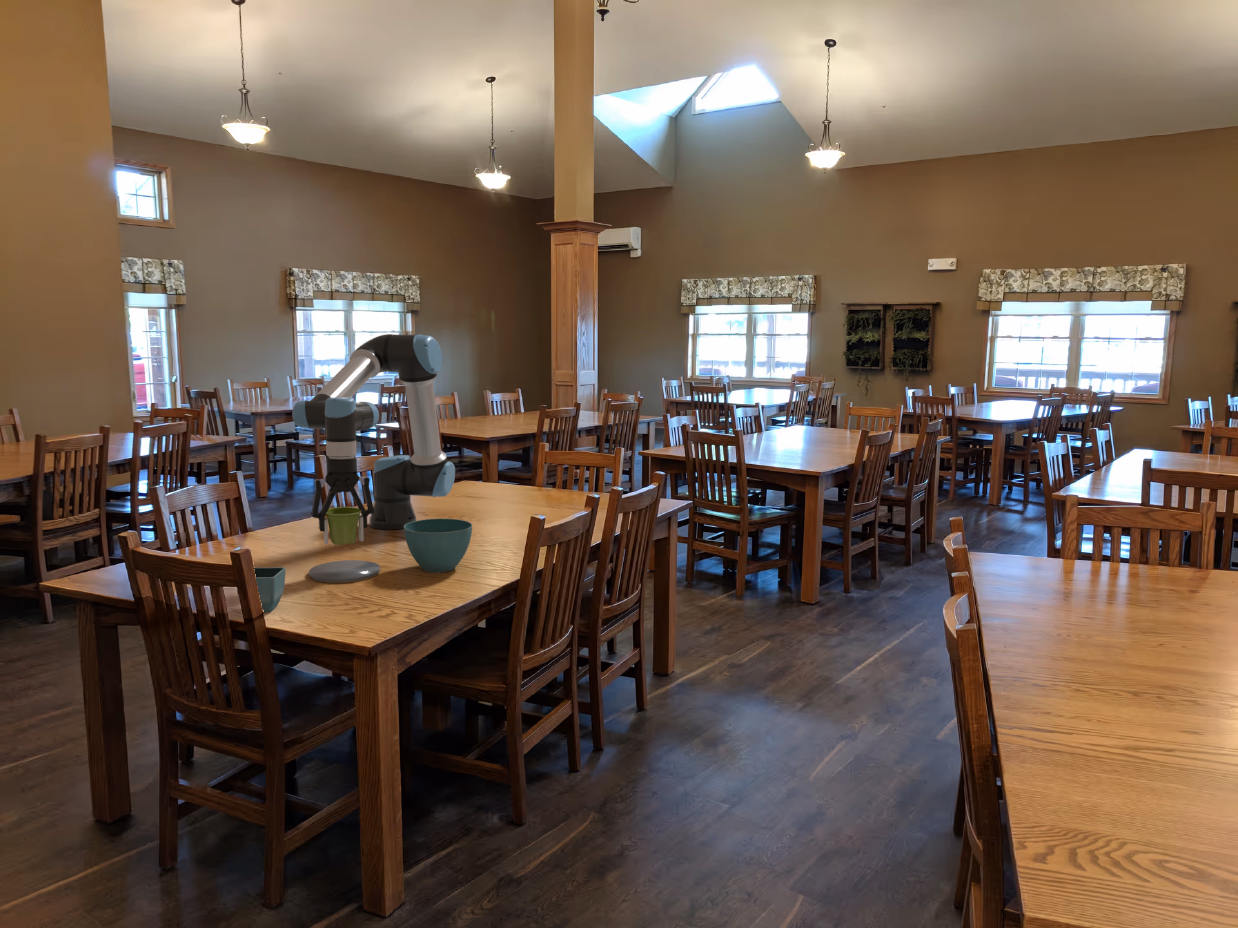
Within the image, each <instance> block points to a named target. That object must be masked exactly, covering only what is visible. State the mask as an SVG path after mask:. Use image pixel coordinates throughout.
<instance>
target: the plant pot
mask: <svg viewBox="0 0 1238 928" xmlns="http://www.w3.org/2000/svg"><path fill="white" fill-rule="evenodd" d="M360 515H361V511H360V510H359V508H358V507H354V506H353V507H352V506H340V507H339V506H338V507H329V509H328V512H327V513H326V516H325V518H327V520H328V532H329V536H330V542H331V543H332V544H333V545H337V546H338V545H339V546H344V545H346V544H349V545H353V544H354V543H356V539H357V530H358V526H359V521H358V518H359V516H360Z"/></svg>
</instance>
